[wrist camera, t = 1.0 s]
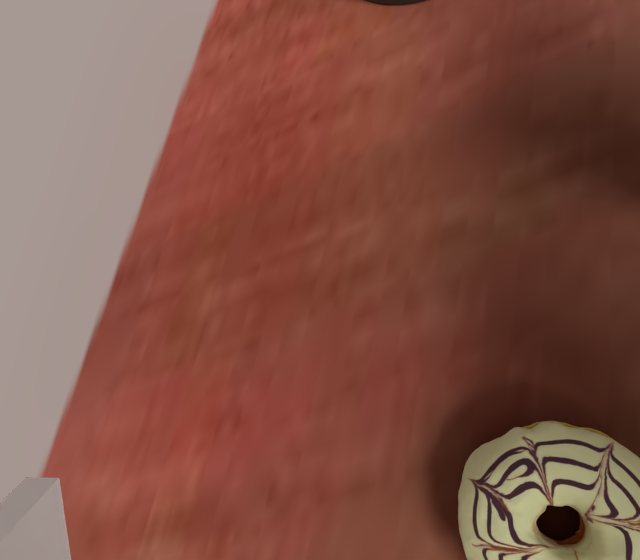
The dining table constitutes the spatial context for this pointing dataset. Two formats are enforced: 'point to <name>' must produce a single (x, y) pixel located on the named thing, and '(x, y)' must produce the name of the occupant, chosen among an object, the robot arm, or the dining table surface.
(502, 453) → the decorated donut
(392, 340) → the dining table surface
